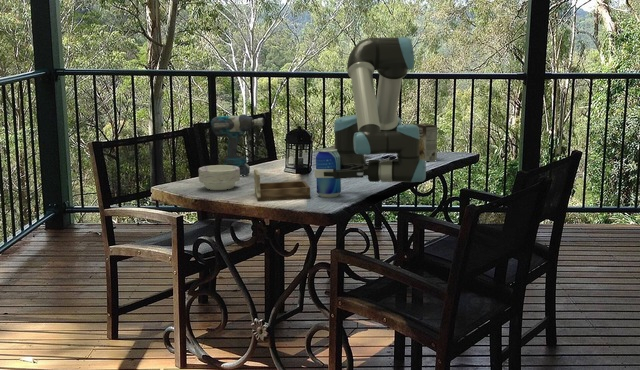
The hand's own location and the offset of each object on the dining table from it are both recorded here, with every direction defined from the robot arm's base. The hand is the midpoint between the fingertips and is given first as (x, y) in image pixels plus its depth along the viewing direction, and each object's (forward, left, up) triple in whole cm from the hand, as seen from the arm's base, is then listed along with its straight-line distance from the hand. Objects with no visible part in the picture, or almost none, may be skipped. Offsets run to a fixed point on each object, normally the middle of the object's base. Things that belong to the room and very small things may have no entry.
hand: (318, 170), depth 273 cm
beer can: (-3, +1, -9) cm, 10 cm away
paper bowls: (+34, -25, -9) cm, 43 cm away
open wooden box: (+13, -3, -9) cm, 16 cm away
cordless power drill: (+25, -53, -9) cm, 59 cm away
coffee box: (-58, -69, -9) cm, 91 cm away
